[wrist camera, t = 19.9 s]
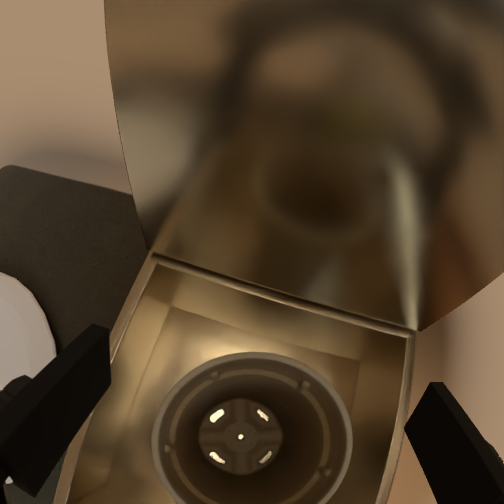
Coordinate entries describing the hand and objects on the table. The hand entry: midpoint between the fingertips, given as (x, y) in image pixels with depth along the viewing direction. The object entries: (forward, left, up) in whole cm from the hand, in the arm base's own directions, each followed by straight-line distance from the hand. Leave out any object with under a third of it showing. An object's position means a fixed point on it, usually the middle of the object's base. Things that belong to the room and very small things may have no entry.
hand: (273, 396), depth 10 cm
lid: (+6, +2, +5) cm, 8 cm away
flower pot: (-2, -1, -11) cm, 12 cm away
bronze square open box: (-2, -1, -12) cm, 12 cm away
